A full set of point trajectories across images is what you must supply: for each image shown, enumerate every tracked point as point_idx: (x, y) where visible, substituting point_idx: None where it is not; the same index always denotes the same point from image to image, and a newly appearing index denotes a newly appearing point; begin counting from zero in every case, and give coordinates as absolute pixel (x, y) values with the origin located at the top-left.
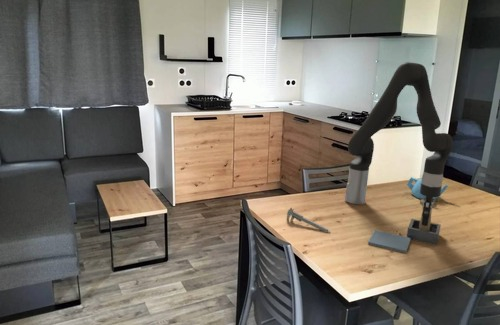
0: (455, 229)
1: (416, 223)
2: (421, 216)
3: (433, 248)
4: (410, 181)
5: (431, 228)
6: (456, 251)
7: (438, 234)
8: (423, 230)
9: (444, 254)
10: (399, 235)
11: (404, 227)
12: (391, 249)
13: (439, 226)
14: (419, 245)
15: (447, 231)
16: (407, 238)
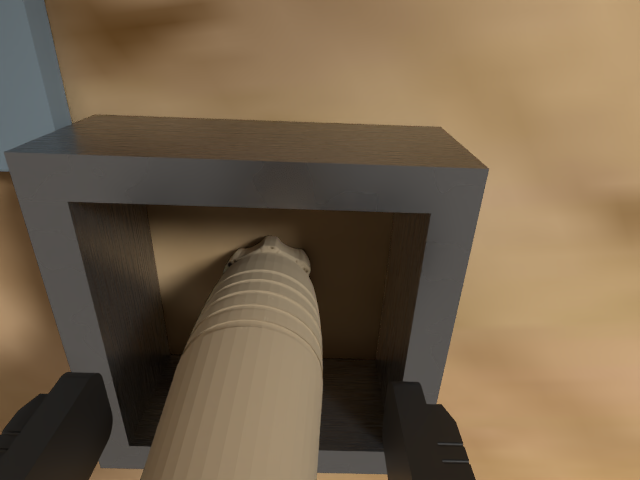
0: (574, 468)
1: (415, 231)
2: (195, 424)
3: (57, 353)
4: None
5: (389, 366)
6: (134, 471)
7: (104, 464)
8: (94, 344)
9: (11, 416)
10: (23, 23)
11: (448, 53)
12: None
13: (352, 467)
14: (21, 253)
15: (506, 427)
16: (11, 137)
